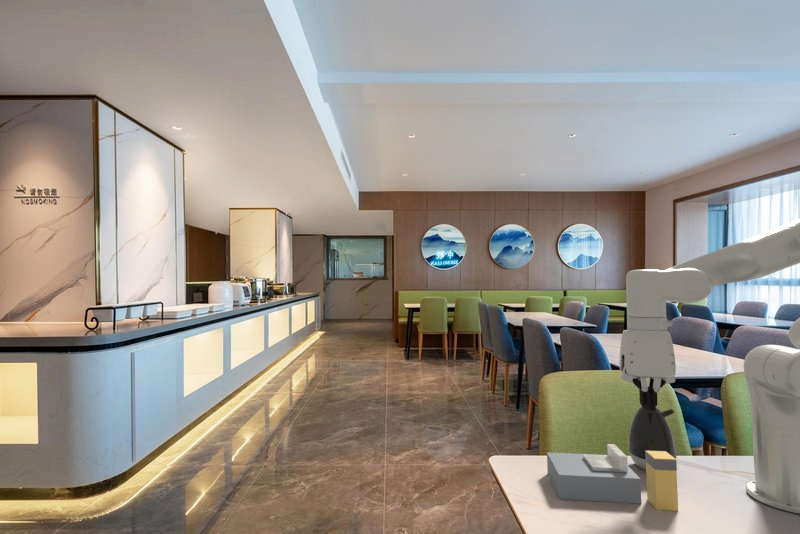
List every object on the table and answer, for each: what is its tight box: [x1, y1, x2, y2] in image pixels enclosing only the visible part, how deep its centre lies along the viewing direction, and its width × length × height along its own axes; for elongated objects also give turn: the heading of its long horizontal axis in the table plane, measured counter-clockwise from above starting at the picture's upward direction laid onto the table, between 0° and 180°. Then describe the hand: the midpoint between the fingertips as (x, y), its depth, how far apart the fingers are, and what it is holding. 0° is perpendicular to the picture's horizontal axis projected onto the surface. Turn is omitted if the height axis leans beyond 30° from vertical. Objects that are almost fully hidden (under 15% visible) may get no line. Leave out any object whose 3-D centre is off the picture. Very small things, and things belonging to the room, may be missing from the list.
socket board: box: [546, 452, 642, 505], centre depth 92 cm, size 16×12×5 cm
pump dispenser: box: [627, 405, 677, 471], centre depth 102 cm, size 10×10×15 cm
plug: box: [645, 451, 679, 512], centre depth 85 cm, size 4×4×10 cm
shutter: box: [582, 443, 628, 472], centre depth 92 cm, size 7×7×3 cm
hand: (648, 408), depth 91 cm, fingers closed
